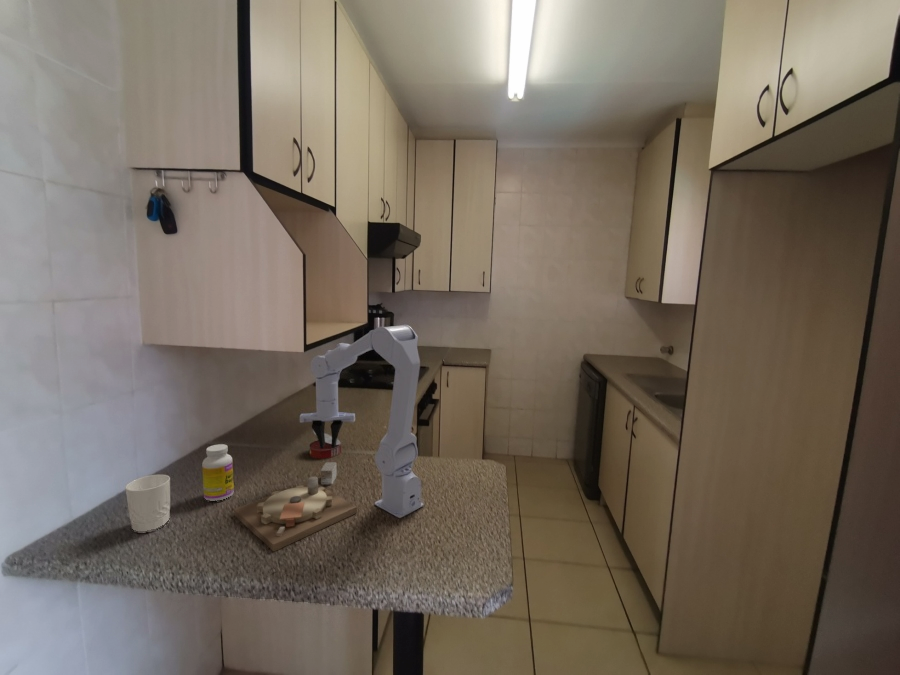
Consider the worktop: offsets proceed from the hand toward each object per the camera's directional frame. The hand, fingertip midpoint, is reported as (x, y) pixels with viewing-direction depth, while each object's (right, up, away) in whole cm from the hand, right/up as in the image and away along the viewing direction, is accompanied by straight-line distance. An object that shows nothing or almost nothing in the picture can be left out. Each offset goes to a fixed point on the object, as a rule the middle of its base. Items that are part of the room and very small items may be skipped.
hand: (328, 447), depth 113 cm
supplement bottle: (-25, -10, -9) cm, 29 cm away
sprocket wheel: (-3, -10, -17) cm, 20 cm away
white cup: (-33, -12, -22) cm, 41 cm away
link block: (0, -10, +1) cm, 10 cm away
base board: (-3, -11, -17) cm, 20 cm away
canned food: (-7, -8, +20) cm, 23 cm away
